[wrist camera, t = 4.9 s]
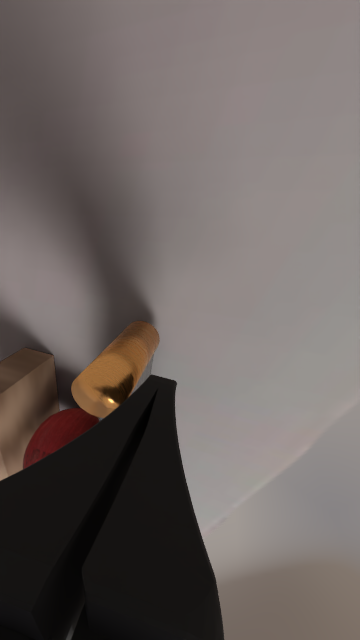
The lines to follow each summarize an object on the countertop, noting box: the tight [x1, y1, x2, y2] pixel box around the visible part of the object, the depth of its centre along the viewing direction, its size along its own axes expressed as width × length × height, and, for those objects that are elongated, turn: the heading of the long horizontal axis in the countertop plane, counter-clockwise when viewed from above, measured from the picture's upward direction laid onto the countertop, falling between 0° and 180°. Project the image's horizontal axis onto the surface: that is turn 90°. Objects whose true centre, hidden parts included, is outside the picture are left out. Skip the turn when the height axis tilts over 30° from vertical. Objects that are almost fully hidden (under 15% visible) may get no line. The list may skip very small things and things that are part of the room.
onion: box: [23, 408, 99, 469], centre depth 17 cm, size 6×6×8 cm
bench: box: [0, 348, 60, 481], centre depth 19 cm, size 15×13×6 cm
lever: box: [71, 321, 159, 421], centre depth 16 cm, size 21×3×6 cm, turn 169°
